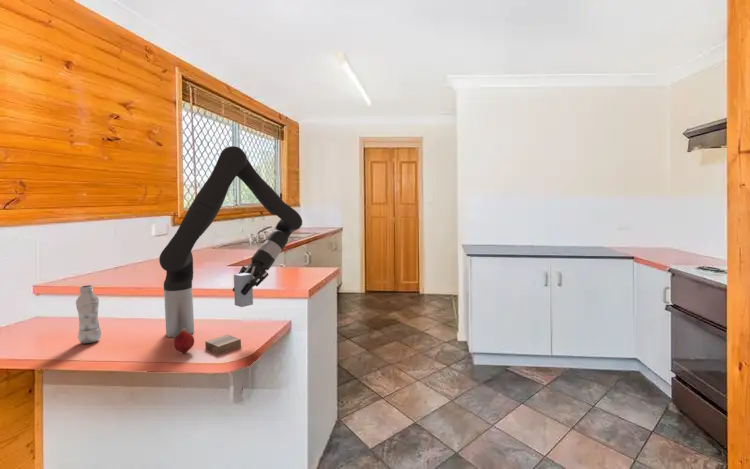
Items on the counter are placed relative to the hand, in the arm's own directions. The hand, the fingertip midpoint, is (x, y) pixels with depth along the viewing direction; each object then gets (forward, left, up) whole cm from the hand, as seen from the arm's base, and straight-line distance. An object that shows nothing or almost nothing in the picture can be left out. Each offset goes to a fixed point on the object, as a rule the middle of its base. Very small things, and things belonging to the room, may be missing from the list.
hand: (238, 292), depth 126 cm
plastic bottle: (-42, -32, -17) cm, 56 cm away
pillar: (0, +2, -5) cm, 5 cm away
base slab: (+1, -7, -18) cm, 19 cm away
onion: (-5, -17, -17) cm, 25 cm away
